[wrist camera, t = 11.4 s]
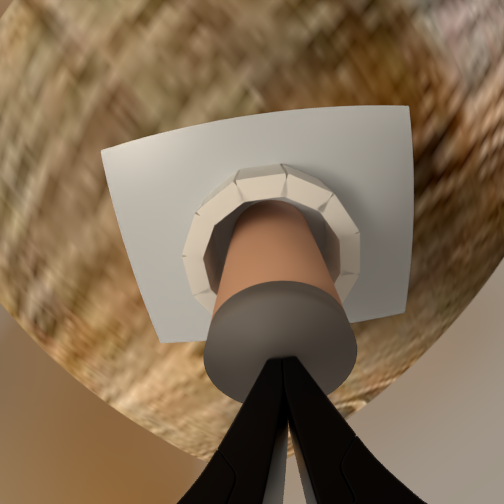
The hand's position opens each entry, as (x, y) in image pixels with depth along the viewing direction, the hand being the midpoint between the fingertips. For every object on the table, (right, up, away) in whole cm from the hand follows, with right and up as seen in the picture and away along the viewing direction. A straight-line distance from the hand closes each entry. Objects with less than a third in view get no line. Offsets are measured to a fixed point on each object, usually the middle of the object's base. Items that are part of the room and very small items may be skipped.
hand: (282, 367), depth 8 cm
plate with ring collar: (0, +4, +10) cm, 11 cm away
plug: (0, +4, +9) cm, 10 cm away
